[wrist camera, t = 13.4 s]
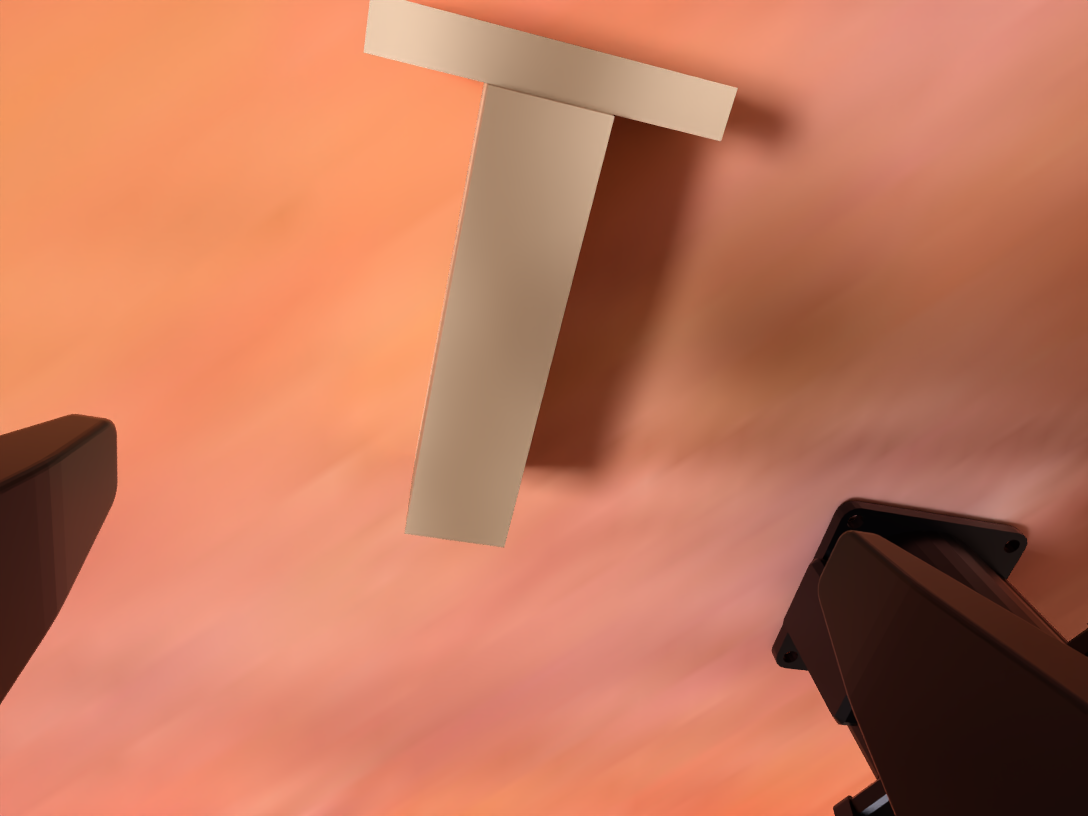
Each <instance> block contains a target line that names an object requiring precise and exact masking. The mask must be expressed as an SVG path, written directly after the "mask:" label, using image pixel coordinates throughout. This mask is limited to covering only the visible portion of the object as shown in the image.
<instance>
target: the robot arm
mask: <svg viewBox="0 0 1088 816" xmlns="http://www.w3.org/2000/svg"><path fill="white" fill-rule="evenodd" d="M116 491H117V432H116V428H115V425H114V424H113V422H112V421H111V420H109V419H106V418H99V417H93V416H86V415H79V414H71V415H67V416H64V417H60V418H57V419H54V420H50V421H47V422H44V423H40V424H37V425H34V426H30V427H27V428H23V429H20V430H17V431H13V432H10V433H7V434H3V435H0V704H1V703H2V701H3V700H4V698H5V696H6V695H7V693H8V692H9V690H10V689H11V687H12V686H13V684H14V683H15V681H16V680H17V678H18V677H19V675H20V673H21V672H22V670H23V669H24V667H25V666H26V664H27V663H28V661H29V660H30V658H31V657H32V655H33V654H34V652H35V650H36V649H37V647H38V646H39V644H40V643H41V641H42V640H43V638H44V637H45V635H46V633H47V632H48V630H49V629H50V627H51V625H52V624H53V622H54V620H55V619H56V617H57V616H58V614H59V612H60V610H61V608H62V606H63V604H64V602H65V600H66V598H67V596H68V594H69V592H70V590H71V588H72V586H73V584H74V582H75V580H76V578H77V576H78V574H79V572H80V570H81V568H82V566H83V564H84V562H85V560H86V558H87V555H88V553H89V551H90V549H91V547H92V545H93V543H94V541H95V539H96V537H97V535H98V533H99V531H100V529H101V527H102V525H103V523H104V521H105V519H106V517H107V515H108V512H109V510H110V508H111V506H112V504H113V502H114V499H115V495H116ZM854 515H857V517H856V518H855V519H854V520H852V521H848V520H849V519H850V518H851V517H852V516H854ZM1007 542H1008V543H1007ZM1006 543H1007V544H1006ZM1026 546H1027V538H1026V537H1025V536H1024V535H1023V534H1022V533H1021V532H1020V531H1019V530H1018V529H1017V528H1015V527H1012V526H1008V525H1002V524H996V523H989V522H983V521H977V520H971V519H965V518H958V517H952V516H946V515H940V514H934V513H927V512H921V511H915V510H909V509H903V508H896V507H890V506H884V505H878V504H872V503H865V502H859V501H849V502H846V503H844V504H842V505H841V506H840V507H838V509H837V510H836V512H835V514H834V516H833V518H832V520H831V522H830V524H829V527H828V529H827V531H826V533H825V535H824V537H823V539H822V542H821V544H820V546H819V548H818V550H817V552H816V554H815V557H814V559H813V561H812V562H811V563H810V565H809V567H808V569H807V571H806V573H805V575H804V577H803V579H802V582H801V584H800V586H799V588H798V590H797V592H796V595H795V597H794V599H793V601H792V603H791V605H790V607H789V610H788V612H787V614H786V616H785V618H784V621H783V625H782V628H781V630H780V632H779V634H778V636H777V638H776V640H775V643H774V645H773V647H772V654H773V656H774V658H775V660H776V662H777V664H778V665H779V666H780V667H783V668H789V669H798V670H806V671H809V673H810V675H811V677H812V678H813V680H814V682H815V684H816V686H817V688H818V690H819V692H820V694H821V695H822V697H823V699H824V701H825V703H826V705H827V707H828V709H829V711H830V712H831V714H832V716H833V718H834V719H835V721H836V722H837V723H838V724H840V725H847V726H848V728H849V729H850V731H851V733H852V735H853V737H854V739H855V740H856V742H857V744H858V746H859V748H860V750H861V751H862V753H863V755H864V757H865V759H866V761H867V762H868V764H869V766H870V768H871V770H872V772H873V773H874V775H875V777H876V779H877V780H876V781H875V782H873V783H872V784H870V785H869V786H868V787H866V788H865V789H863V790H862V791H861V792H859V793H858V794H857V795H855V796H854V797H851V796H847V797H846V798H844V799H843V800H842V801H840V802H839V803H838V804H836V805H835V806H833V810H834V814H835V816H1088V628H1087V629H1086V630H1085V631H1083V632H1082V633H1080V634H1079V635H1078V636H1076V637H1075V638H1073V639H1072V640H1071V641H1069V642H1068V641H1067V640H1066V639H1065V638H1064V637H1063V636H1062V635H1061V634H1060V633H1059V632H1058V631H1057V630H1056V629H1055V628H1054V627H1053V626H1052V625H1051V624H1050V623H1049V622H1048V621H1047V620H1046V619H1045V618H1044V617H1043V616H1042V615H1041V614H1040V613H1039V612H1038V611H1037V610H1036V609H1035V608H1034V607H1033V606H1032V605H1031V604H1030V603H1029V602H1028V601H1027V600H1026V599H1025V598H1024V597H1023V596H1022V595H1021V594H1020V593H1019V592H1018V591H1017V590H1016V589H1015V588H1014V587H1013V586H1012V585H1011V584H1010V583H1009V582H1008V580H1007V578H1008V576H1009V575H1010V573H1011V571H1012V570H1013V568H1014V566H1015V565H1016V563H1017V561H1018V560H1019V558H1020V556H1021V555H1022V553H1023V552H1024V550H1025V548H1026ZM1087 624H1088V623H1087ZM789 651H791V652H790V653H788V654H786V653H787V652H789Z"/></svg>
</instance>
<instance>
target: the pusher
mask: <svg viewBox="0 0 1088 816" xmlns="http://www.w3.org/2000/svg"><path fill="white" fill-rule="evenodd" d="M364 53H368V54H372V55H376V56H380V57H384V58H388V59H392V60H396V61H400V62H404V63H408V64H412V65H416V66H420V67H424V68H428V69H432V70H436V71H440V72H444V73H448V74H452V75H456V76H460V77H464V78H468V79H472V80H476V81H480V82H484V84H483V90H482V95H481V101H480V106H479V112H478V117H477V122H476V128H475V133H474V139H473V144H472V150H471V155H470V160H469V166H468V171H467V177H466V182H465V188H464V193H463V198H462V204H461V209H460V215H459V220H458V226H457V231H456V236H455V242H454V247H453V253H452V258H451V264H450V269H449V274H448V280H447V285H446V291H445V296H444V302H443V307H442V312H441V318H440V323H439V329H438V334H437V340H436V345H435V350H434V356H433V361H432V367H431V372H430V378H429V383H428V388H427V394H426V399H425V405H424V410H423V416H422V421H421V426H420V432H419V437H418V443H417V448H416V454H415V461H414V469H413V476H412V483H411V491H410V498H409V505H408V512H407V520H406V527H405V534H411V535H418V536H425V537H433V538H440V539H447V540H454V541H461V542H468V543H476V544H483V545H490V546H497V547H504V546H505V542H506V538H507V535H508V531H509V527H510V523H511V519H512V515H513V511H514V507H515V503H516V499H517V495H518V492H519V488H520V484H521V480H522V476H523V472H524V468H525V464H526V460H527V456H528V452H529V449H530V445H531V441H532V437H533V433H534V429H535V425H536V421H537V417H538V413H539V410H540V406H541V402H542V398H543V394H544V390H545V386H546V382H547V378H548V374H549V370H550V367H551V363H552V359H553V355H554V351H555V347H556V343H557V339H558V335H559V331H560V328H561V324H562V320H563V316H564V312H565V308H566V304H567V300H568V296H569V292H570V288H571V285H572V281H573V277H574V273H575V269H576V265H577V261H578V257H579V253H580V249H581V246H582V242H583V238H584V234H585V230H586V226H587V222H588V218H589V214H590V210H591V206H592V203H593V199H594V195H595V191H596V187H597V183H598V179H599V175H600V171H601V167H602V164H603V160H604V156H605V152H606V148H607V144H608V140H609V136H610V132H611V128H612V124H613V121H614V117H615V116H613V115H617V116H621V117H625V118H629V119H633V120H637V121H641V122H645V123H649V124H653V125H657V126H661V127H665V128H669V129H673V130H677V131H681V132H685V133H689V134H693V135H697V136H701V137H705V138H709V139H713V140H717V141H721V140H722V137H723V133H724V130H725V127H726V124H727V121H728V118H729V114H730V111H731V108H732V105H733V102H734V99H735V95H736V92H737V89H738V88H736V87H732V86H728V85H724V84H720V83H717V82H713V81H709V80H705V79H701V78H698V77H694V76H690V75H686V74H682V73H679V72H675V71H671V70H667V69H663V68H660V67H656V66H652V65H648V64H645V63H641V62H637V61H633V60H629V59H626V58H622V57H618V56H614V55H610V54H607V53H603V52H599V51H595V50H591V49H588V48H584V47H580V46H576V45H572V44H569V43H565V42H561V41H557V40H553V39H550V38H546V37H542V36H538V35H534V34H531V33H527V32H523V31H519V30H515V29H512V28H508V27H504V26H500V25H496V24H493V23H489V22H485V21H481V20H477V19H474V18H470V17H466V16H462V15H459V14H455V13H451V12H447V11H443V10H440V9H436V8H432V7H428V6H424V5H421V4H417V3H413V2H409V1H405V0H370V4H369V13H368V21H367V29H366V37H365V46H364ZM611 114H613V115H611Z"/></svg>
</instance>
